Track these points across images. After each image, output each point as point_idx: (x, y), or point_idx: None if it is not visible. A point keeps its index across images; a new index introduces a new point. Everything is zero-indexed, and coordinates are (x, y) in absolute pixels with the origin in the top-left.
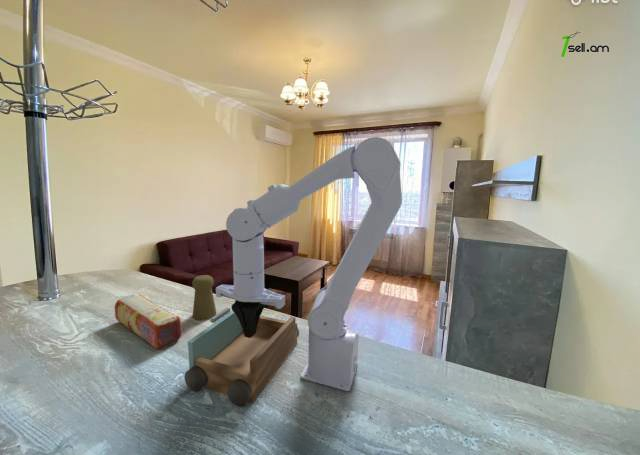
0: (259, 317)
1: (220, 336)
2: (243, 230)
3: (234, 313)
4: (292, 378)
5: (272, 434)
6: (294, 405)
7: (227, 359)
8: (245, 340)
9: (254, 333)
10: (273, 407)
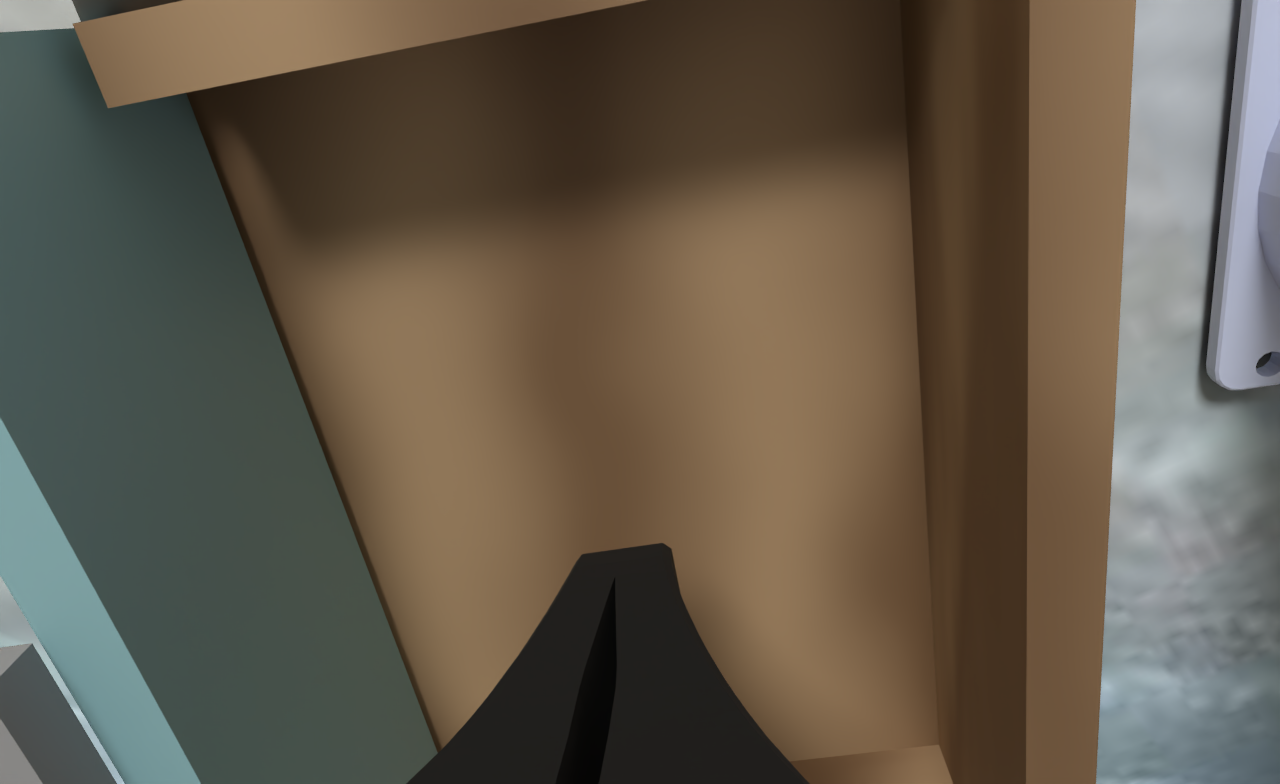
0: (720, 677)
1: (327, 717)
2: None
3: (116, 604)
4: (1126, 404)
5: (1187, 779)
6: (1246, 596)
7: (530, 630)
8: (420, 346)
9: (678, 584)
10: (1106, 665)
